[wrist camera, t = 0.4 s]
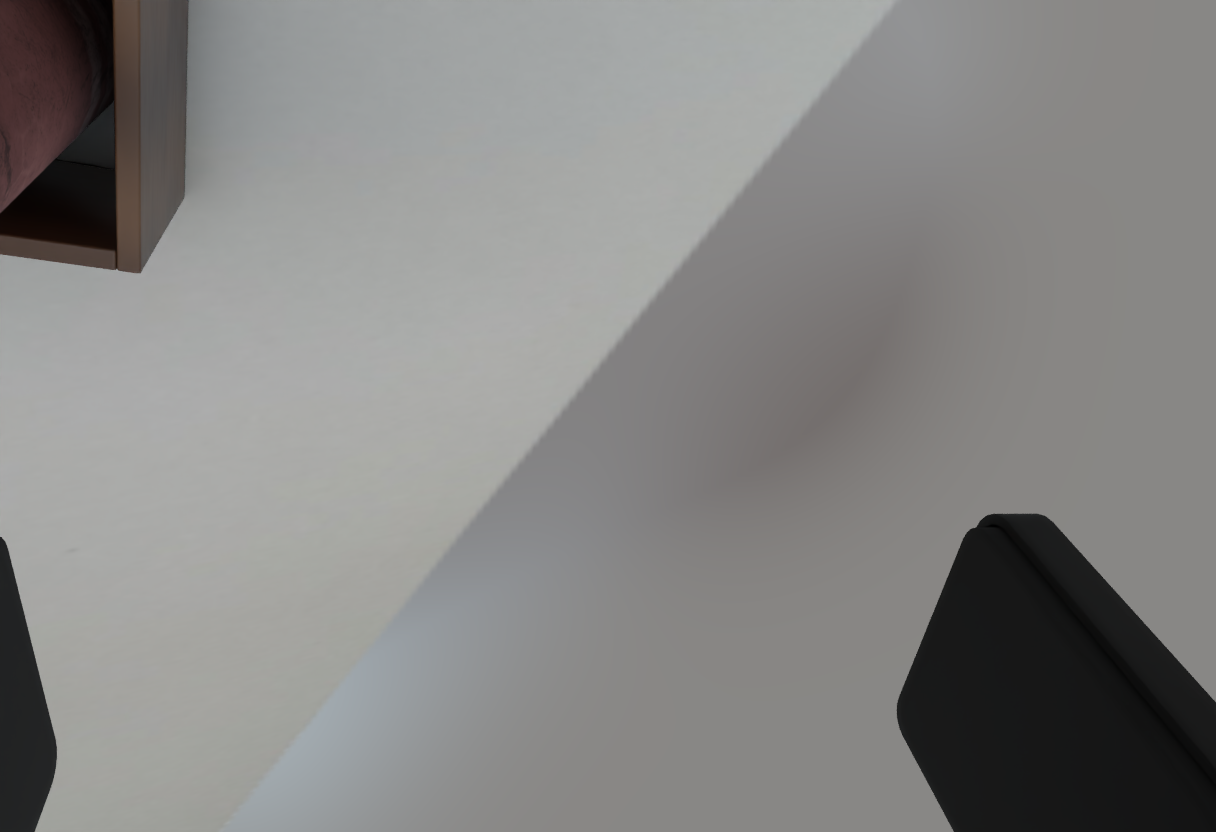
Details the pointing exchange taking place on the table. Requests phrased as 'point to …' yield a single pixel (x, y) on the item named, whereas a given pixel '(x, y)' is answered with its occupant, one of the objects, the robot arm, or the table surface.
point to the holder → (117, 157)
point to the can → (49, 82)
